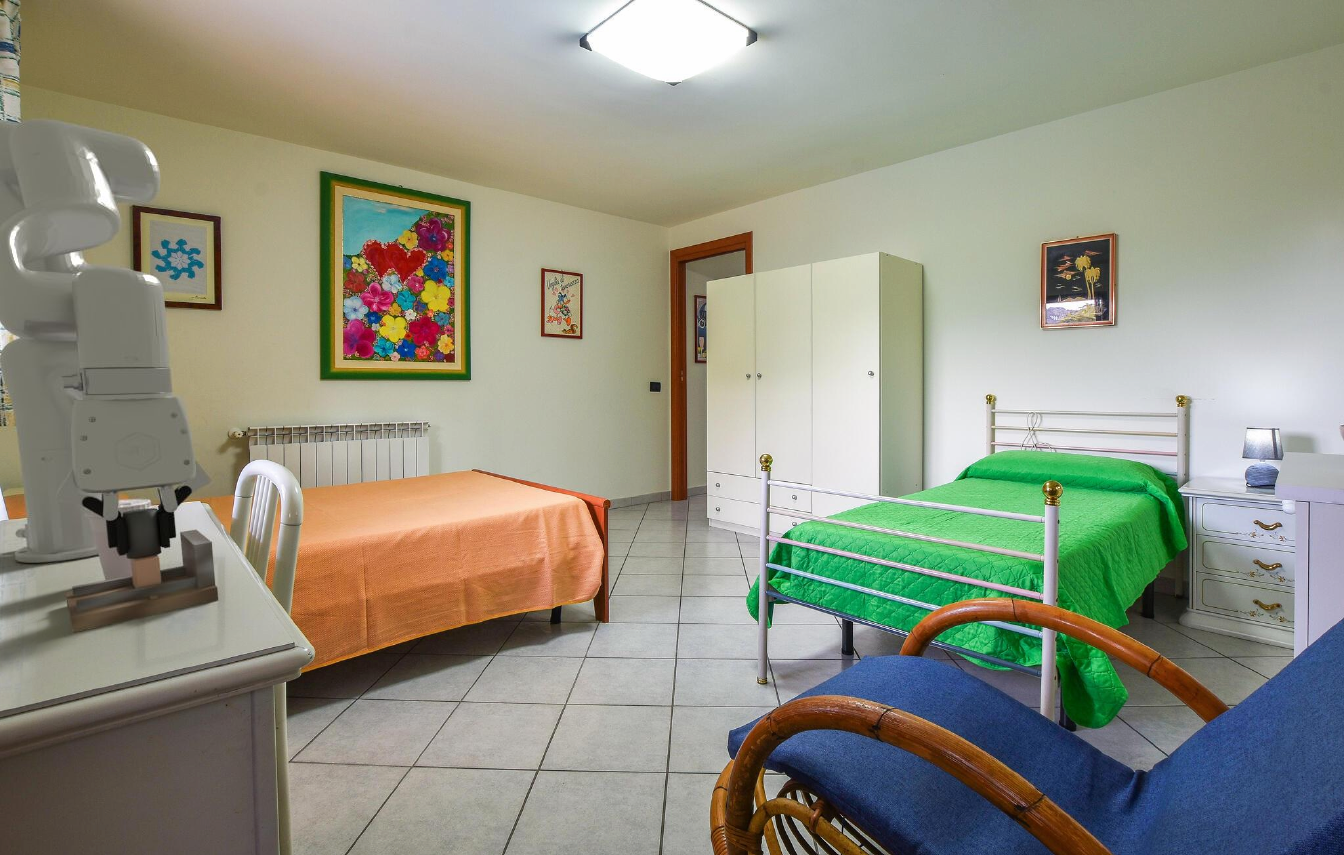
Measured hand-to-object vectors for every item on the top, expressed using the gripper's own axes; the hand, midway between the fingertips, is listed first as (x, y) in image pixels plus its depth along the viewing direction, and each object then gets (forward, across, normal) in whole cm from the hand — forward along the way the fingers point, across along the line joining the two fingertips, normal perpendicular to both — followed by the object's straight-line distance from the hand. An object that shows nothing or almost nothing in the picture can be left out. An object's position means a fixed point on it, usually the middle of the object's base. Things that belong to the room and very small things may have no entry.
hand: (143, 547), depth 71 cm
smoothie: (+6, -1, +13) cm, 15 cm away
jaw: (+4, 0, 0) cm, 4 cm away
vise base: (+6, 0, 0) cm, 6 cm away
